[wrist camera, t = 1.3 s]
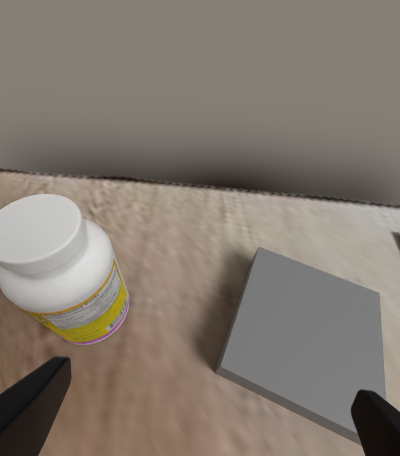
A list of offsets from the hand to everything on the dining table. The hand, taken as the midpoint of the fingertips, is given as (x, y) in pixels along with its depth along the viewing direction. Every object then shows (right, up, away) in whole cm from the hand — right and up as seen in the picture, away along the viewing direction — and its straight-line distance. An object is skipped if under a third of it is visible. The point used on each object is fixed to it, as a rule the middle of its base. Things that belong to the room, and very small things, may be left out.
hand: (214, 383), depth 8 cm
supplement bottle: (-10, -3, +15) cm, 19 cm away
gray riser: (+9, -5, +16) cm, 19 cm away
